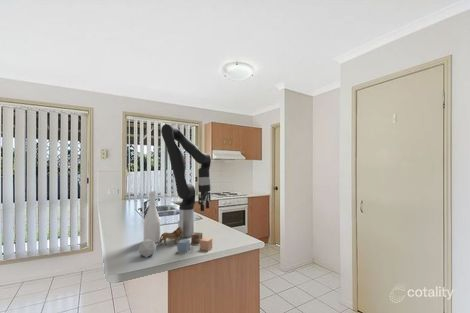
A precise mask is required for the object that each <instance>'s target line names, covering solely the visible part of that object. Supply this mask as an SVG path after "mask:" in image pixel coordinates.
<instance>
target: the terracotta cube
mask: <svg viewBox="0 0 470 313" xmlns="http://www.w3.org/2000/svg"><path fill="white" fill-rule="evenodd" d="M212 248H213V238H211V237H202V239H201V240H200V244H199V250H202V251H209V250H211V249H212Z"/></svg>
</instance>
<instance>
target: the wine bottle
mask: <svg viewBox="0 0 470 313" xmlns="http://www.w3.org/2000/svg"><path fill="white" fill-rule="evenodd" d="M156 194H157V193H156V191H154V190H153V191H152V190H151V191H149V194H148V195H149V204H148V208H147V211H146V214H145V217H144V220H143V221H144V222H143V241H144V240H146V239H150V240H152V241H153V242H154V243H155V244H158V243H159V242H160V238H161V218H160V216H159V212H158V210H157V206H156Z"/></svg>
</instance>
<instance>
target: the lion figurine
mask: <svg viewBox="0 0 470 313" xmlns="http://www.w3.org/2000/svg"><path fill="white" fill-rule="evenodd" d="M182 234H183V228H181V227H179V228H178V227H176V229H175V230H173V231H172V232H163V233H162V234H160V241H159V242H157V243H156V246H157V245H158V246H159V245H163V244H164V245H165V246H168V243H166V242H167V239H168V240H173V242H174V244H176V245H178V239H180V238H182V237H181V235H182Z"/></svg>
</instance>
